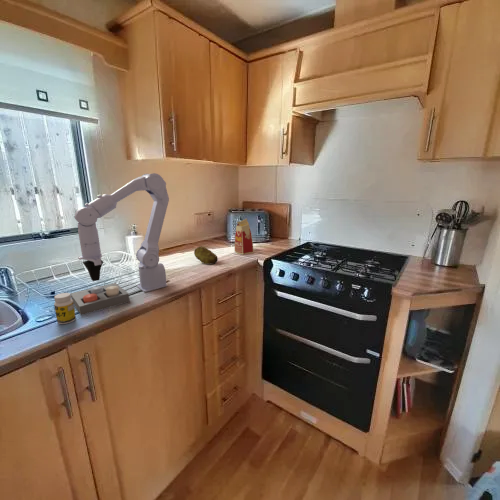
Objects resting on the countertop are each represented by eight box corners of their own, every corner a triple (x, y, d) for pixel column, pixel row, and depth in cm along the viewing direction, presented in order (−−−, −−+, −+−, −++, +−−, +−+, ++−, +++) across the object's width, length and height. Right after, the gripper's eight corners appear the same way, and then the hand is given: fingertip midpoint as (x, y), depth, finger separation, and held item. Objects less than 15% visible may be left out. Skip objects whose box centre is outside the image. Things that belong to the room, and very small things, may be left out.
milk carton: (245, 249, 168) (245, 217, 163) (254, 253, 160) (254, 219, 155) (232, 251, 163) (232, 218, 158) (241, 255, 156) (240, 220, 151)
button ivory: (117, 293, 99) (116, 284, 98) (121, 296, 96) (120, 288, 96) (105, 296, 97) (104, 287, 96) (108, 299, 94) (107, 291, 93)
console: (116, 290, 107) (115, 282, 106) (129, 301, 97) (128, 293, 96) (71, 301, 97) (70, 293, 96) (81, 315, 87) (79, 306, 86)
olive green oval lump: (206, 267, 134) (205, 251, 132) (192, 261, 144) (191, 246, 142) (219, 263, 140) (219, 248, 138) (205, 258, 149) (204, 244, 147)
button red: (96, 301, 95) (95, 292, 94) (99, 304, 92) (98, 296, 91) (83, 304, 92) (81, 295, 91) (86, 308, 89) (84, 299, 89)
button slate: (102, 293, 101) (101, 285, 101) (105, 296, 99) (104, 288, 98) (90, 296, 99) (88, 288, 98) (93, 299, 96) (91, 291, 95)
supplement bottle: (53, 324, 82) (48, 298, 80) (66, 316, 86) (61, 291, 84) (67, 325, 81) (62, 299, 79) (79, 317, 85) (75, 292, 83)
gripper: (71, 241, 96) (78, 277, 100) (81, 248, 86) (88, 288, 89) (94, 238, 101) (99, 273, 104) (105, 245, 91) (111, 283, 94)
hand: (95, 280), depth 97 cm, fingers closed
